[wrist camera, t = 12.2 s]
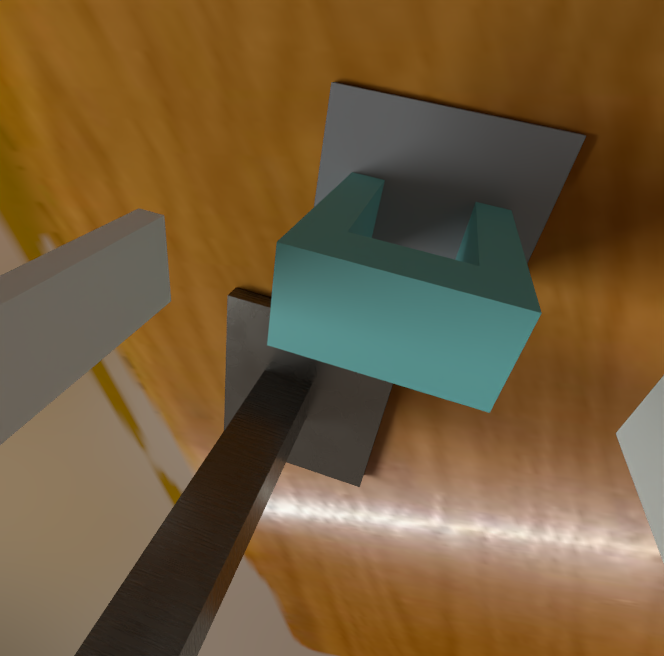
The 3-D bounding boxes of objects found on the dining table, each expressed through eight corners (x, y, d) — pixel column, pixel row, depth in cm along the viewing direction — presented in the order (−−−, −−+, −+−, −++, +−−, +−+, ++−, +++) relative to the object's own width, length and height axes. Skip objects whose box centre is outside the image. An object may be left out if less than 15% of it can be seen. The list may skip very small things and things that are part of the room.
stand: (235, 287, 24) (-139, 646, 9) (529, 372, 22) (657, 1020, 7) (230, 430, 31) (7, 773, 16) (455, 506, 29) (440, 985, 14)
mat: (334, 81, 18) (331, 82, 17) (583, 134, 16) (586, 136, 16) (304, 291, 23) (301, 294, 23) (488, 343, 22) (488, 347, 21)
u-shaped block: (338, 245, 21) (267, 345, 13) (352, 172, 19) (276, 242, 11) (481, 283, 20) (489, 412, 12) (511, 210, 18) (541, 313, 10)
